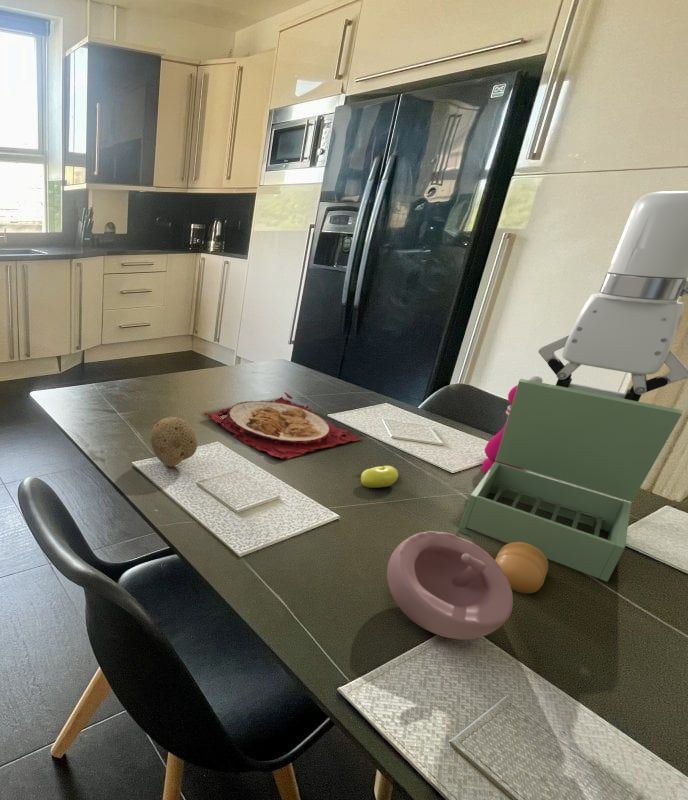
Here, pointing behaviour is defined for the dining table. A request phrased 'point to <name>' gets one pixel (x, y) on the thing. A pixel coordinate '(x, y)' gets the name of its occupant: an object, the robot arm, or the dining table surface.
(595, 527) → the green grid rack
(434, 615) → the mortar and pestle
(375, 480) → the yellow oval piece
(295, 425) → the plate with food
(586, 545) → the bin
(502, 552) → the bread roll
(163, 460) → the natural sponge
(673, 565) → the dining table surface
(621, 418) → the lid
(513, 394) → the pepper mill
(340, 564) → the dining table surface
